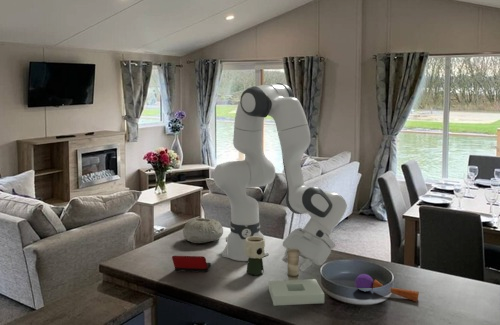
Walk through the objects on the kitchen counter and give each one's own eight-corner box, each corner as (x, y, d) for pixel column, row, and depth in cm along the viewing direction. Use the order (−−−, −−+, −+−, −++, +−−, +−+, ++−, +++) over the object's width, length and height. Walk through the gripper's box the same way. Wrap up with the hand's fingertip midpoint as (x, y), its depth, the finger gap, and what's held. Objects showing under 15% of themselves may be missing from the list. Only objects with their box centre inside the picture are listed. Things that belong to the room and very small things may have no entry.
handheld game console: (211, 265, 182) (211, 246, 181) (205, 276, 172) (205, 256, 171) (179, 264, 184) (179, 245, 183) (172, 275, 173) (171, 255, 172)
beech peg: (286, 281, 166) (286, 248, 164) (297, 281, 166) (297, 248, 164) (288, 286, 162) (288, 252, 160) (299, 285, 162) (300, 252, 160)
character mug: (256, 280, 167) (255, 244, 165) (239, 276, 171) (238, 241, 169) (270, 270, 176) (270, 236, 174) (254, 266, 180) (254, 233, 178)
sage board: (268, 289, 159) (268, 281, 159) (315, 287, 161) (315, 279, 160) (273, 305, 147) (273, 296, 147) (324, 303, 149) (324, 294, 148)
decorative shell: (208, 232, 224) (208, 212, 222) (231, 241, 210) (231, 219, 209) (175, 240, 212) (175, 218, 211) (198, 250, 199) (197, 227, 197)
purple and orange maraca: (417, 294, 146) (353, 277, 155) (415, 310, 148) (352, 293, 157) (420, 283, 151) (358, 268, 160) (418, 299, 153) (357, 283, 162)
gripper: (292, 221, 173) (270, 252, 170) (328, 236, 156) (304, 270, 153) (302, 231, 176) (280, 261, 173) (338, 246, 159) (315, 280, 155)
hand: (292, 265), depth 163 cm, fingers open, 8 cm apart
